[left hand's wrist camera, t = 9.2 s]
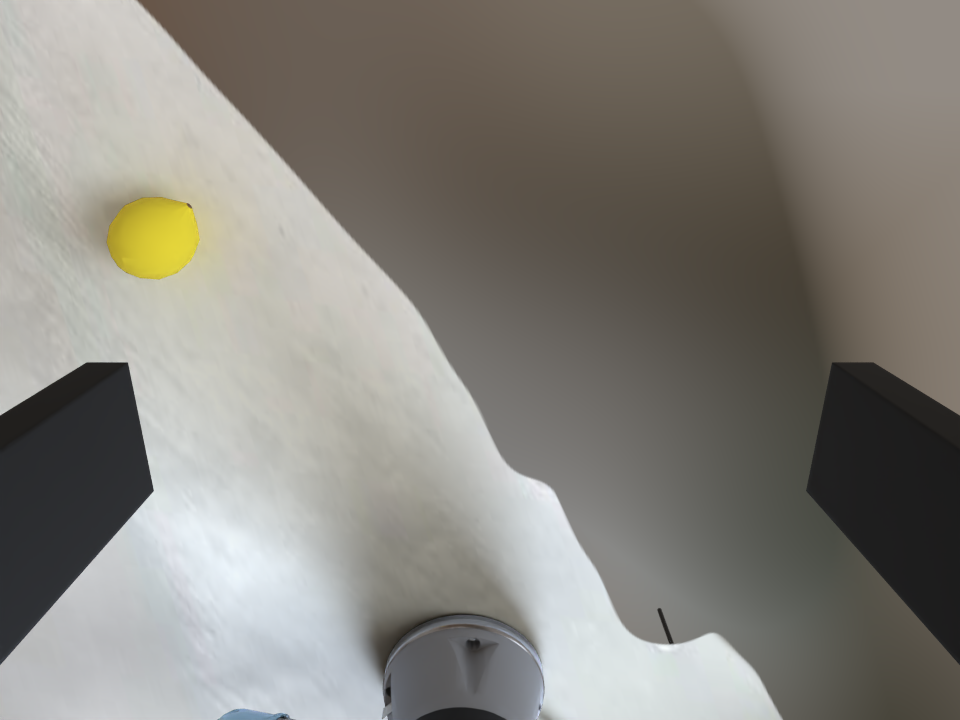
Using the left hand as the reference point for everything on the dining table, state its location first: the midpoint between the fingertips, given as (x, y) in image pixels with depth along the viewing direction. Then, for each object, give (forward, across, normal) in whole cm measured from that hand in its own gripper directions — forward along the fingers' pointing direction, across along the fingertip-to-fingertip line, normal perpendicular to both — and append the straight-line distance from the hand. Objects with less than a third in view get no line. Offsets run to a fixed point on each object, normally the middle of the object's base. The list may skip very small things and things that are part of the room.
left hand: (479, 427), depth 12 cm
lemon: (+37, +23, +2) cm, 44 cm away
